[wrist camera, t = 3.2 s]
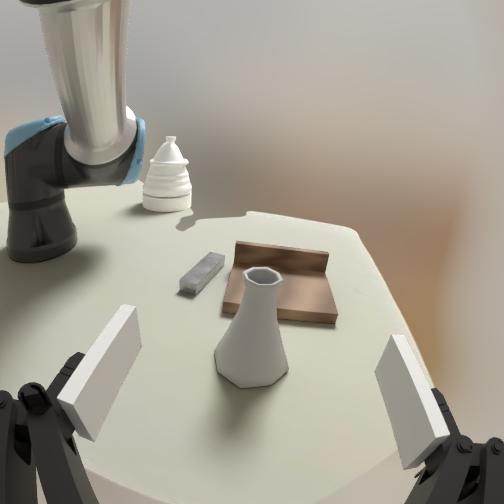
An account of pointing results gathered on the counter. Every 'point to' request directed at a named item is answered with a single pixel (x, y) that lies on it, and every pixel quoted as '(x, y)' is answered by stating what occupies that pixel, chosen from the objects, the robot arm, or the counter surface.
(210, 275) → the grey rectangular bar
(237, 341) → the flask
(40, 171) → the robot arm
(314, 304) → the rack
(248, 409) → the counter surface
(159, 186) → the honey pot
